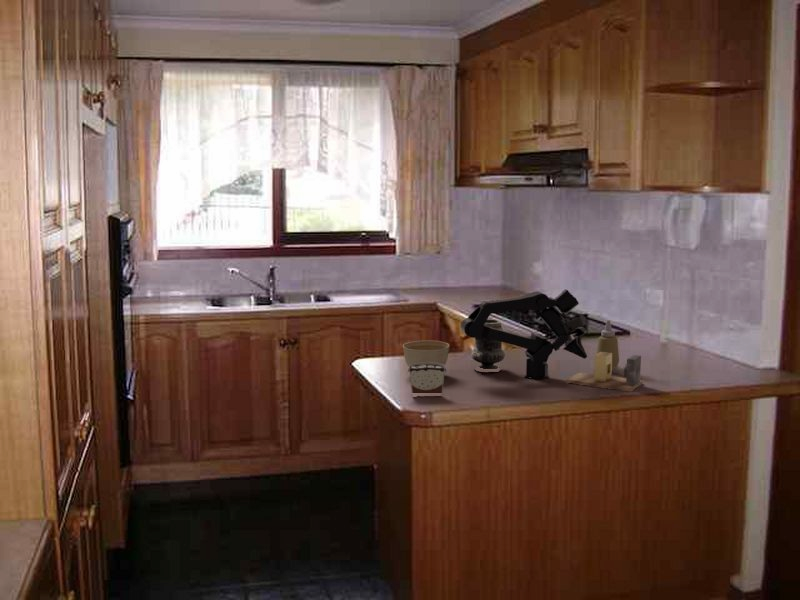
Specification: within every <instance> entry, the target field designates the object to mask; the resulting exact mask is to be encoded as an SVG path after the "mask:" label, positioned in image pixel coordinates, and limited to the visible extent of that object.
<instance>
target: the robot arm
mask: <svg viewBox="0 0 800 600" xmlns="http://www.w3.org/2000/svg"><path fill="white" fill-rule="evenodd" d="M579 304H580V303H579V301H578V299H577V298H576V297H575V296H574V295H573V294H572V293H571V292H570V291H569V290H568V289H564V290H563V291H562V292H560V293H559V294H558V295H557V296H556V297H555V298H553V297H551V296H550V297H549V296H548V295H547V294H545V293H543V292H540V291H538V290H537V291H533V292H529V293H526V294H524V295H522V296H519V297H513V298H506V299H499V300H497V299H496V300H489V301H487V300H486V301H485V300H484V301H482V302H480V303H479V305H478V307H477V308H476V309H474V310H473V311H472V312H471V313H470V314H469V315H468V316H467V317H466V318H464V319H463V320H462V321H461V323H460V330H461V332H462V333H463V334H465V336H467V337H469V338H472V339H475V338H489V339H493V340H497V341H500V342H502V343H505V344H507V345H512V346H514V347H519V348H523V349H526V350H525V351H524V353H525V356H526V359H525V360H526V367H525V368H526V370H525V372H526V373H525V375H524V376H525V377H531V378H530V379H532V378H537V379H536V380H540V379H541V380H544V379H546V378H547V377H549V364H548V359H549V357H550V356H551V354H552V353H553V351H555V352H557V351H559V350H561V349H560V348H561V347H562V346H565V347H564V348H563V349H562V350H564V351H566V352H570V353H572V354H574V355H575V356H578V357H580V358H582V359H586V358H588V355H587V352H586V350H585V348H584V345H583V343H582V337H583V336H584V335H585V334H586V333H588V331H587V330H586V328H585V327H584V326H586V325H588V324H587V318H586V317H585V315H582V313H579V314H576V315H575V316H574V319H571V320H569V318H564V317H563V316H562V314H563V313H564V315H567V314H568V313H569V312H571V311H572V310H573V309H575V308H576V307H577V306H578V305H579ZM518 310H529V311H535V313H534V315H535V317H534V320H535V321H536V322H538V321H539V320H542V322H543V323H544V324H546V326H547V327H548V328H549V329H550V330H549V333H550V334H554V335H555V337H556V339H555V340H554V341H553V342H551V341H550V340H549V339H548V338H547V337H546V336H543V335H542V334H535V333H534V332H531V333H530V336H525V335H521V334H518V333H514V332H510V331H506V330H505V331H503V330H499V329H496V328H492V327H489V326H486V325H484V324H485V322H486V321H487V319H489V317H490V316H491V315H492V314H497V313H504V312H511V311H518ZM525 377H524V378H525ZM545 377H546V378H545ZM543 378H544V379H543Z"/></svg>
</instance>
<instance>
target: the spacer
mask: <svg viewBox="0 0 800 600" xmlns="http://www.w3.org/2000/svg"><path fill="white" fill-rule="evenodd" d="M593 360H594V361H593V363H594V365H593V366H594V367H593V371H594V372H593V374H594V380H595V381H603V382H606V381H608V380H609V379H611V378H612V377H613V376H612V374H613V372H612V353H608V352H599V353H597V352H596V354H594V359H593Z"/></svg>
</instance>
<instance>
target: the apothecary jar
mask: <svg viewBox="0 0 800 600" xmlns="http://www.w3.org/2000/svg"><path fill="white" fill-rule="evenodd" d="M484 325H486V326H489V327H492V328H496V329H499V330H503V331H506V329H505V328H504V327H503V326H502V323H501V320H499V319H496V318H488V319H487V321H486V322H485V324H484ZM502 344H503V342H500V341H497V340H493V339H489V338H474V348H473V349H472V350H471V352H470V356H471V358H472V359H473V360H474V361H475V362H478V363H480V364H479V365H478V366H477V367H480V368H483V369H497V368H498V367H499V366H498V365H495V364H497V363H500V362H502V361H504V359H505V358H506V353H505V352H504V350H503V349H502Z"/></svg>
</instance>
